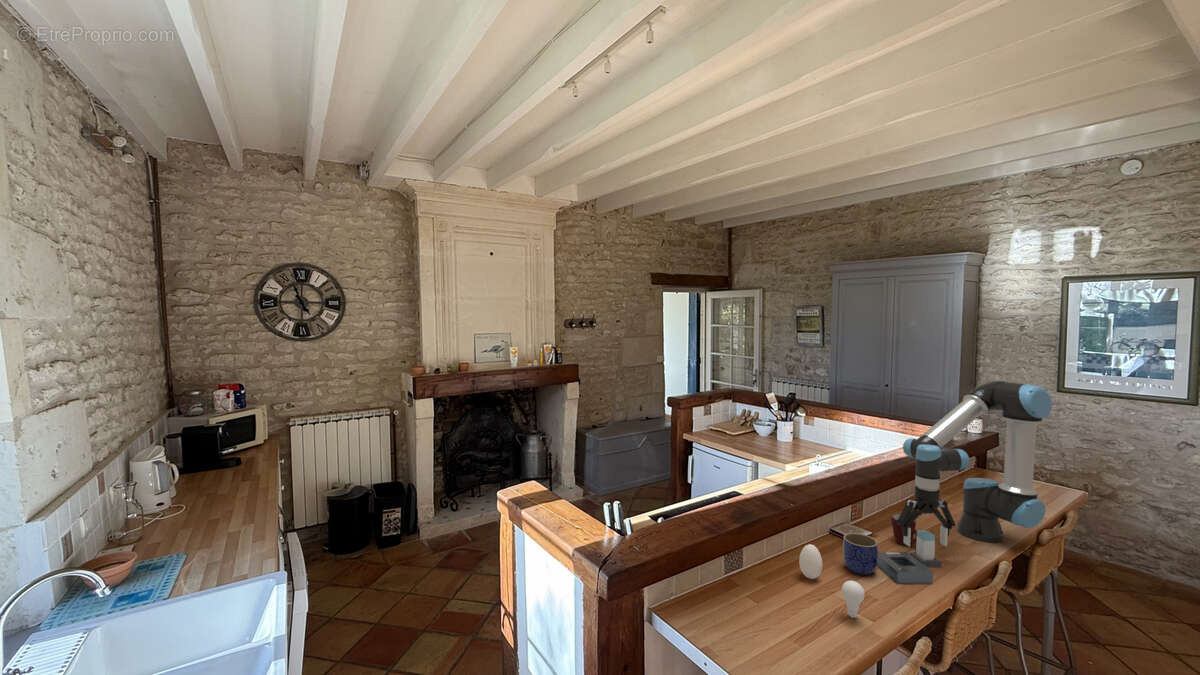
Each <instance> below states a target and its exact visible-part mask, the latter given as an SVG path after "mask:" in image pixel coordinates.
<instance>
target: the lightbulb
mask: <svg viewBox="0 0 1200 675" xmlns="http://www.w3.org/2000/svg"><path fill="white" fill-rule="evenodd" d="M841 593H842V595H843V597H844V600H845V602H846V608H847V615H848V616H849V617H850V618H852V619H854V618H857V617H858V611H859V607H860V604H861V603H862V602H863V600H864V599H865V597H866V596H865V595H866V593H865V589H864V588H863V586H862V585H861V583H859V582H857V581H855V580H846V581H845V582H844V583H843V584H842V586H841Z"/></svg>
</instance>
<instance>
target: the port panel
mask: <svg viewBox="0 0 1200 675" xmlns="http://www.w3.org/2000/svg"><path fill="white" fill-rule="evenodd" d="M876 567H878V568H879V569H881V570H882V571H883V572H884V573H885V574H886V575H887V576H888V577H890V578H891V580H893V581H894V582H895V583H896V584H898V585H899V584H901V585H902V584H933V577H934V573H933V571H932V570H931V569H930V568H929V567H926V566H925V565H923V564H922V563H921V562H919V561H918V560H917V559H915V558H914V557H913V556H911V555H910V552H907V551H878V557H877V566H876Z"/></svg>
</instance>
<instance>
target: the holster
mask: <svg viewBox="0 0 1200 675" xmlns="http://www.w3.org/2000/svg"><path fill="white" fill-rule="evenodd" d="M909 554H910V555H911V556H913V557H914V558H915V559H917V560H918V561H919V562H921V563H922V564H923V565H925V566H926V567H927V568H941V567H942V561H941V560H940V559H938V558H937V557H936V556H934V560H922V559H921V558H919V557H918V556H917V555H916V551H910V552H909Z"/></svg>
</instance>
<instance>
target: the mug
mask: <svg viewBox="0 0 1200 675" xmlns="http://www.w3.org/2000/svg"><path fill="white" fill-rule="evenodd" d="M900 515H901V513H898V514H893V515H892V516H891V527H892V531H893V537H894V538H895V540H896V542H897V543H898V544H900V545H903V546H907V545H906V544H905V543H904V535H902V526H900V525H899V524H897V520H898V518H899V517H900ZM916 520H917V519H916ZM916 520H915V521H914V522H913V523H912V524H911V525H910V526H909V528H911V539H910V543H911V542H913V543H917V531H918V530H916V522H917V521H916ZM914 535H915V539H914Z"/></svg>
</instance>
